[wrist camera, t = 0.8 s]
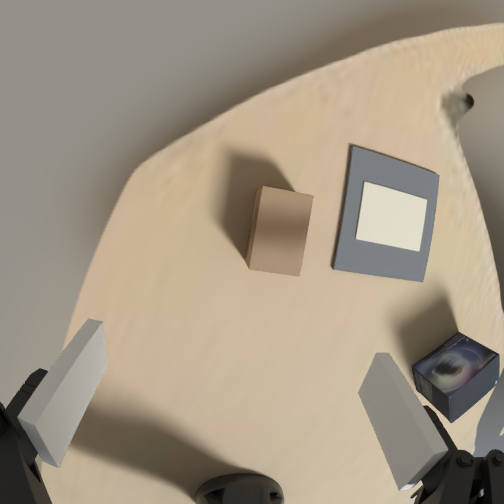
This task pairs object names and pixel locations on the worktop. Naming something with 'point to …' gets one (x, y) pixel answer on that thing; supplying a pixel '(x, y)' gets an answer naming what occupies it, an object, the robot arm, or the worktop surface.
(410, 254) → the mat
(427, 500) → the robot arm
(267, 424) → the worktop surface
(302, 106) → the worktop surface
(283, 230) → the block
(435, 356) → the small box
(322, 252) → the worktop surface
